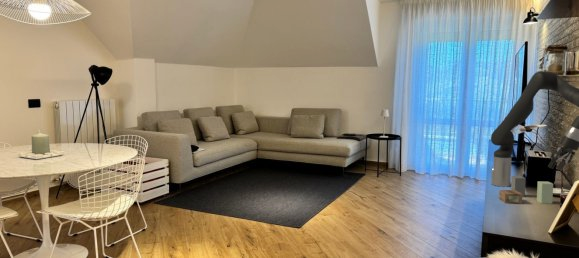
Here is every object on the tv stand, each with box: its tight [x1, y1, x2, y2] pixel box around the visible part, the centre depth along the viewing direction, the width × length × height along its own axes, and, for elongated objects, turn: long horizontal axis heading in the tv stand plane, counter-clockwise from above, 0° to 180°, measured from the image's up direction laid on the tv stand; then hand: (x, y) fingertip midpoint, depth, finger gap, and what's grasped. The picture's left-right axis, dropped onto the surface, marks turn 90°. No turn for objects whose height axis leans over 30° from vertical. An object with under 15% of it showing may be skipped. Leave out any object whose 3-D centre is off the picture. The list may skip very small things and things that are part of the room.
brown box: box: [498, 189, 523, 205], centre depth 202 cm, size 8×8×5 cm
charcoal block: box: [510, 175, 526, 198], centre depth 213 cm, size 5×5×10 cm
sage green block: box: [536, 181, 554, 205], centre depth 200 cm, size 5×5×10 cm
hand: (554, 168), depth 187 cm, fingers open, 8 cm apart
